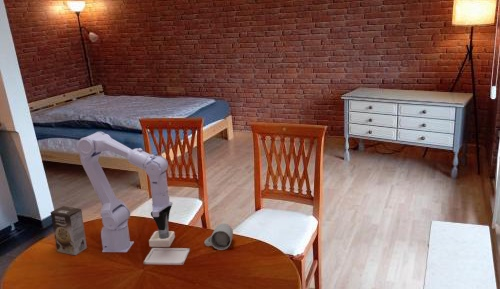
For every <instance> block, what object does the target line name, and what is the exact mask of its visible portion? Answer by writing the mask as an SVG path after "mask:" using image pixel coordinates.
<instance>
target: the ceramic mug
mask: <svg viewBox="0 0 500 289" xmlns="http://www.w3.org/2000/svg"><path fill="white" fill-rule="evenodd" d="M233 238H234V231H233V228H232V227H231V226H230V225H229V224H227V223H220V224H218V225H217V226H216V227H215V228H214V230H213V232H212V234H211V235H210V236H209V237H207V238H206V239H205V240H204V245H205V247H210V246H211V247H213V248H214V249H216V250H219V251H224V250H227V249H228V248H229V247H230V246H231V244H232V240H233Z"/></svg>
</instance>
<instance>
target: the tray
mask: <svg viewBox="0 0 500 289" xmlns="http://www.w3.org/2000/svg"><path fill="white" fill-rule="evenodd" d="M190 252H191V248H190V247H189V248H186V247H185V248H183V247H180V248H179V247H172V248H171V247H151V249H150V251H149V252H148V254H147V255H146V257H145V259H144V260H143V262H142V263H143V264H142V265H166V266H167V265H169V266H171V265H173V266H174V265H175V266H177V265H178V266H184V263H185V262H186V259H187V257H188V255H189V253H190Z"/></svg>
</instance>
